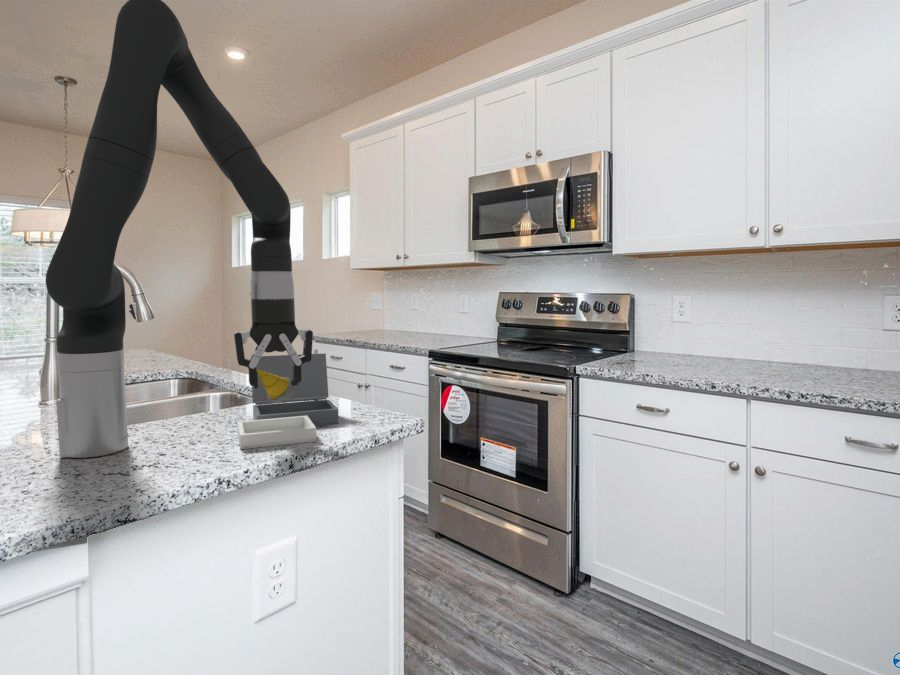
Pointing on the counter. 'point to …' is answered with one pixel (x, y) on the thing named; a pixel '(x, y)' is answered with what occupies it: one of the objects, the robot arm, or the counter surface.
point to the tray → (275, 432)
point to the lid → (307, 389)
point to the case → (299, 411)
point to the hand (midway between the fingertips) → (275, 386)
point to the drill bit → (276, 386)
